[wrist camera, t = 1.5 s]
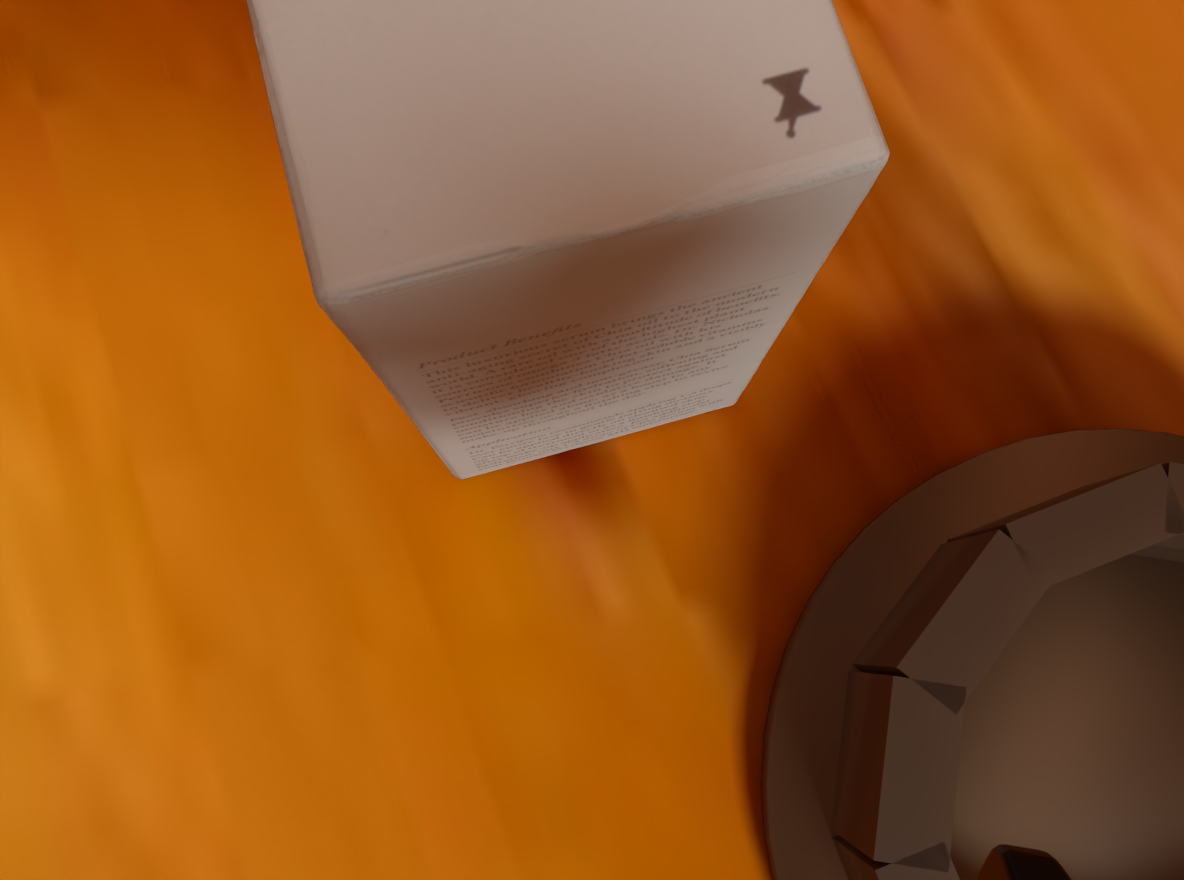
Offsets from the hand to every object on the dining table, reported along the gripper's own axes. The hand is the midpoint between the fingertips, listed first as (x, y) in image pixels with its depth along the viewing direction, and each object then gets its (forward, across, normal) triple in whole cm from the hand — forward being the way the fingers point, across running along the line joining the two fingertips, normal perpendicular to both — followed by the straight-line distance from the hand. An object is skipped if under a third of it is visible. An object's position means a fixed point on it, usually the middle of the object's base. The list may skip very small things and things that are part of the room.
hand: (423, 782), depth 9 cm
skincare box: (+14, 0, +4) cm, 15 cm away
